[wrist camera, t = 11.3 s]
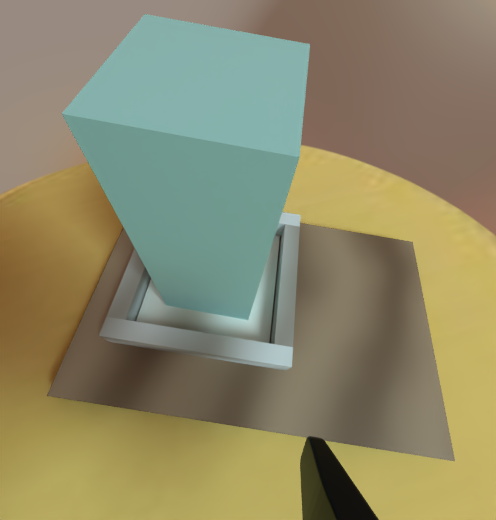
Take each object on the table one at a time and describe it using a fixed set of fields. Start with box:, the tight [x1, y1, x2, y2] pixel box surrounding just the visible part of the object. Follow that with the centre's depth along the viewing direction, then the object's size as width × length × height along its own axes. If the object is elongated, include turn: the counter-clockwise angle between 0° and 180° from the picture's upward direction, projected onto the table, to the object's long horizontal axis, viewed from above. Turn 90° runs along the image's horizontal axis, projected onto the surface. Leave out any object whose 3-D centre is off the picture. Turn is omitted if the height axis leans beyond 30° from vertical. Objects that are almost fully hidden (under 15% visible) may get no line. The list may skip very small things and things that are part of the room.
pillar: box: [62, 14, 310, 320], centre depth 12 cm, size 5×5×12 cm
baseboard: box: [47, 212, 455, 461], centre depth 17 cm, size 21×14×2 cm, turn 82°
